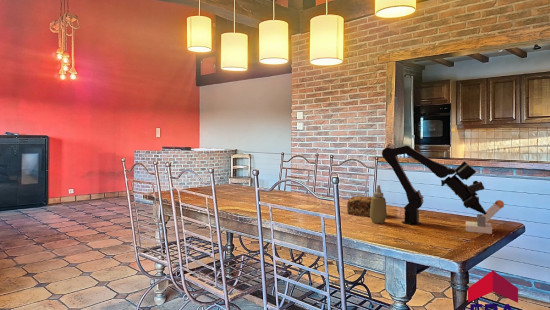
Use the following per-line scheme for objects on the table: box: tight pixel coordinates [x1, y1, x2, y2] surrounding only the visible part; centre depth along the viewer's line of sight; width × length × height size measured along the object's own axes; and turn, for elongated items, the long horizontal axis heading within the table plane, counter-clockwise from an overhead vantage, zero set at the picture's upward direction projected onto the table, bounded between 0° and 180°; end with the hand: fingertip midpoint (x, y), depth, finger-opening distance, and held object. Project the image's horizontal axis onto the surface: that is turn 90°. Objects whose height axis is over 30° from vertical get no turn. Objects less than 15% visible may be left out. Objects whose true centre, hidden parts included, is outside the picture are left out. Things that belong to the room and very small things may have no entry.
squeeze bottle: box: [369, 185, 388, 224], centre depth 180 cm, size 8×8×18 cm
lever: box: [481, 199, 505, 223], centre depth 163 cm, size 4×5×14 cm
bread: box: [346, 195, 373, 217], centre depth 199 cm, size 19×11×10 cm, turn 57°
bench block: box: [465, 213, 493, 235], centre depth 165 cm, size 10×10×6 cm
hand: (485, 213), depth 164 cm, fingers closed, pressing on lever
